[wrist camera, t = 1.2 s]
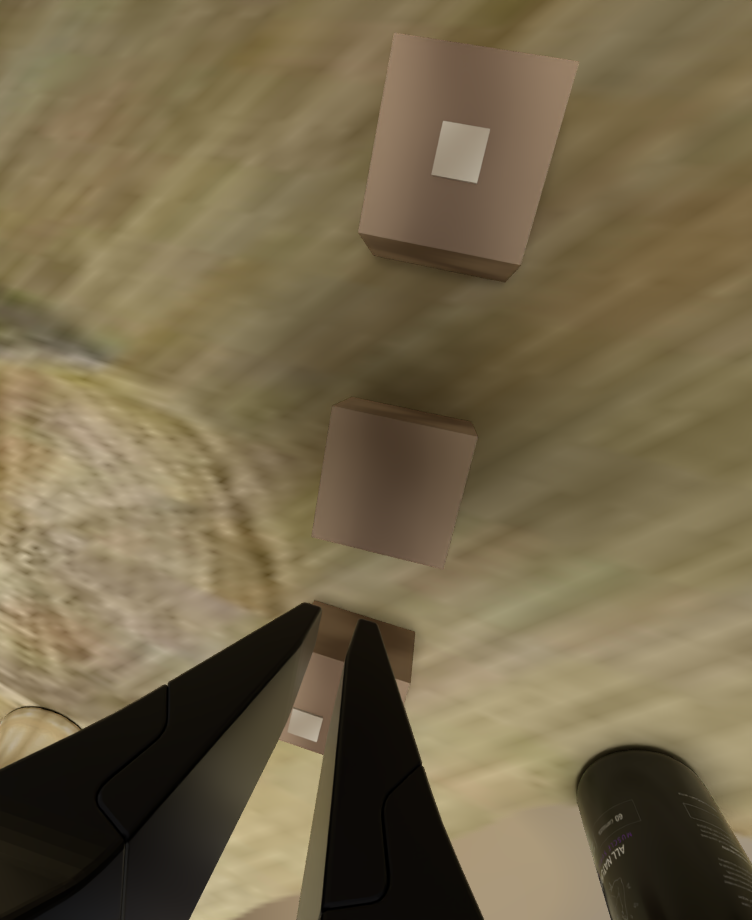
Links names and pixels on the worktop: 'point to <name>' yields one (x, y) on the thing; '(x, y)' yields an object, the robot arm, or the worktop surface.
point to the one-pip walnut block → (462, 154)
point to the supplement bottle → (661, 841)
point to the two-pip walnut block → (338, 674)
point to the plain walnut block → (393, 480)
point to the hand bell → (31, 732)
